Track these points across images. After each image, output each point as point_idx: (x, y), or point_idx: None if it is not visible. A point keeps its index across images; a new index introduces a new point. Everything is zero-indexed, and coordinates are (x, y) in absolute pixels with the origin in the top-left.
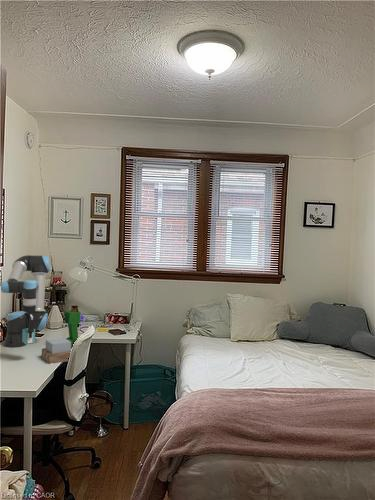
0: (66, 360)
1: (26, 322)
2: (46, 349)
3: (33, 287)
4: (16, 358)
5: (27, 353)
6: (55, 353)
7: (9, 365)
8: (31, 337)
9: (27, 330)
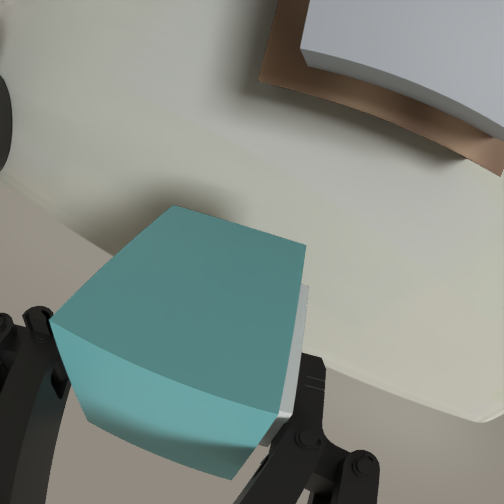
0: None
1: (42, 495)
2: (340, 73)
3: None
4: None
5: (123, 125)
6: None
7: None
8: (320, 365)
9: (224, 465)
